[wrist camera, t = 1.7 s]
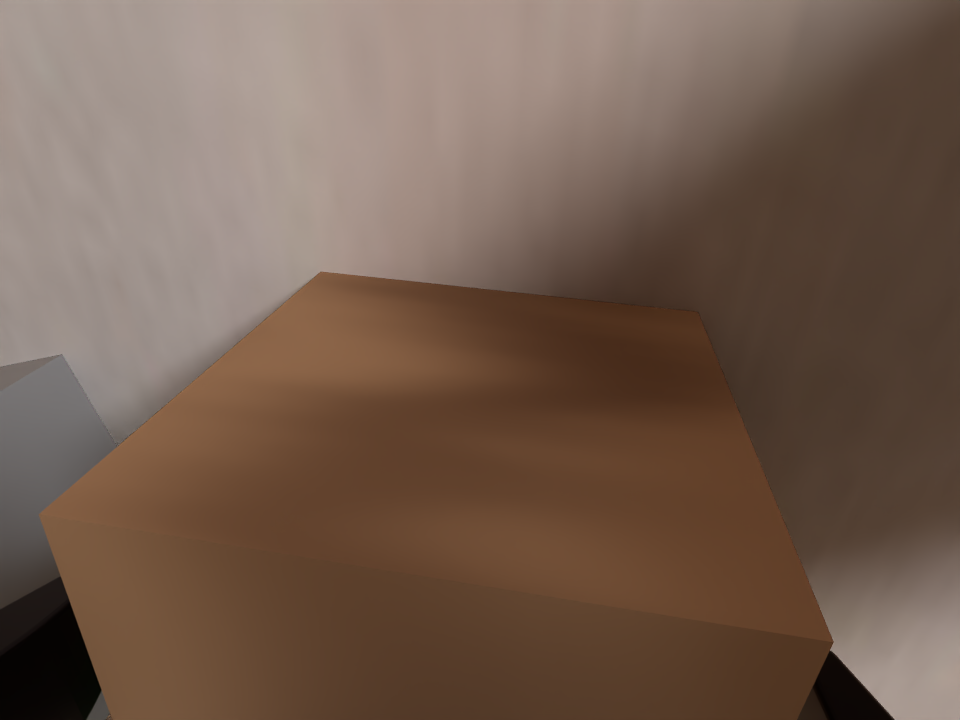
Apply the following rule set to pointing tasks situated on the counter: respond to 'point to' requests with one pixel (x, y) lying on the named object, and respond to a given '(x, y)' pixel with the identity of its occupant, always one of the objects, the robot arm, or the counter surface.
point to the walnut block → (443, 523)
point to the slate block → (41, 468)
